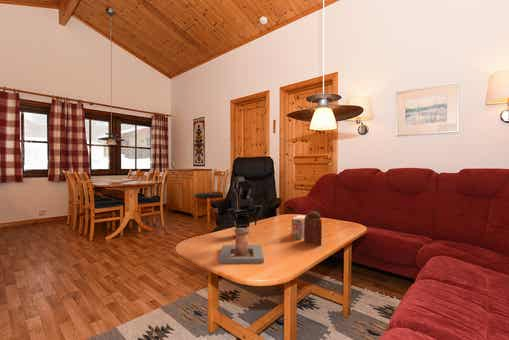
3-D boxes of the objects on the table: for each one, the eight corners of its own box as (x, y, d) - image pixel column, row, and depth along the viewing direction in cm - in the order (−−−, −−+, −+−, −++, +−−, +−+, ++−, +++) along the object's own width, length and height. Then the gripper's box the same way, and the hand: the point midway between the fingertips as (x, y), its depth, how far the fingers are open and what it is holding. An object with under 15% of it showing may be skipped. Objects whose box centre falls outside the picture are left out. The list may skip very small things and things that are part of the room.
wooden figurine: (325, 243, 142) (326, 212, 142) (319, 246, 137) (320, 213, 137) (307, 239, 150) (307, 209, 150) (301, 241, 146) (301, 210, 145)
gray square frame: (222, 248, 132) (222, 245, 132) (260, 248, 133) (260, 244, 133) (219, 263, 113) (219, 258, 113) (263, 262, 114) (263, 258, 114)
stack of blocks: (302, 230, 171) (302, 212, 170) (311, 231, 168) (312, 213, 167) (291, 238, 152) (291, 218, 152) (301, 240, 149) (301, 219, 149)
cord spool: (232, 255, 123) (232, 228, 122) (244, 252, 126) (244, 227, 126) (238, 260, 117) (238, 232, 117) (251, 257, 120) (251, 230, 120)
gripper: (225, 194, 133) (226, 221, 124) (260, 190, 133) (263, 217, 124) (228, 204, 142) (229, 230, 133) (261, 201, 142) (264, 226, 133)
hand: (246, 226), depth 131 cm, fingers open, 9 cm apart
